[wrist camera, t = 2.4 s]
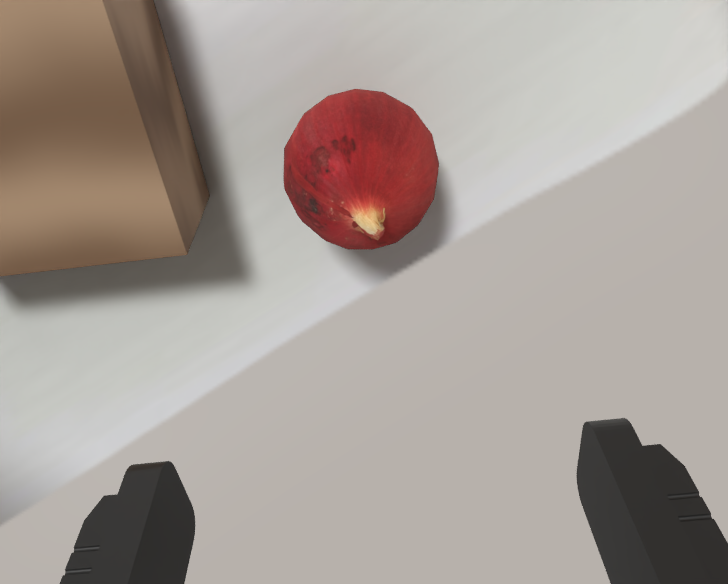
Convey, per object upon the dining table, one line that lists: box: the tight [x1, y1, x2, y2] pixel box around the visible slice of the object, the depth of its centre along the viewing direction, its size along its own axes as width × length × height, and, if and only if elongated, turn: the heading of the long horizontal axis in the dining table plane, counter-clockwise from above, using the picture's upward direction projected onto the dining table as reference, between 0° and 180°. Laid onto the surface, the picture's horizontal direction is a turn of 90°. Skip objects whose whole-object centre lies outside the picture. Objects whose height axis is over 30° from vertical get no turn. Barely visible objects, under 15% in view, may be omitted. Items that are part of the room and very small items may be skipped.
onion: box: [284, 89, 439, 249], centre depth 23 cm, size 6×6×8 cm
